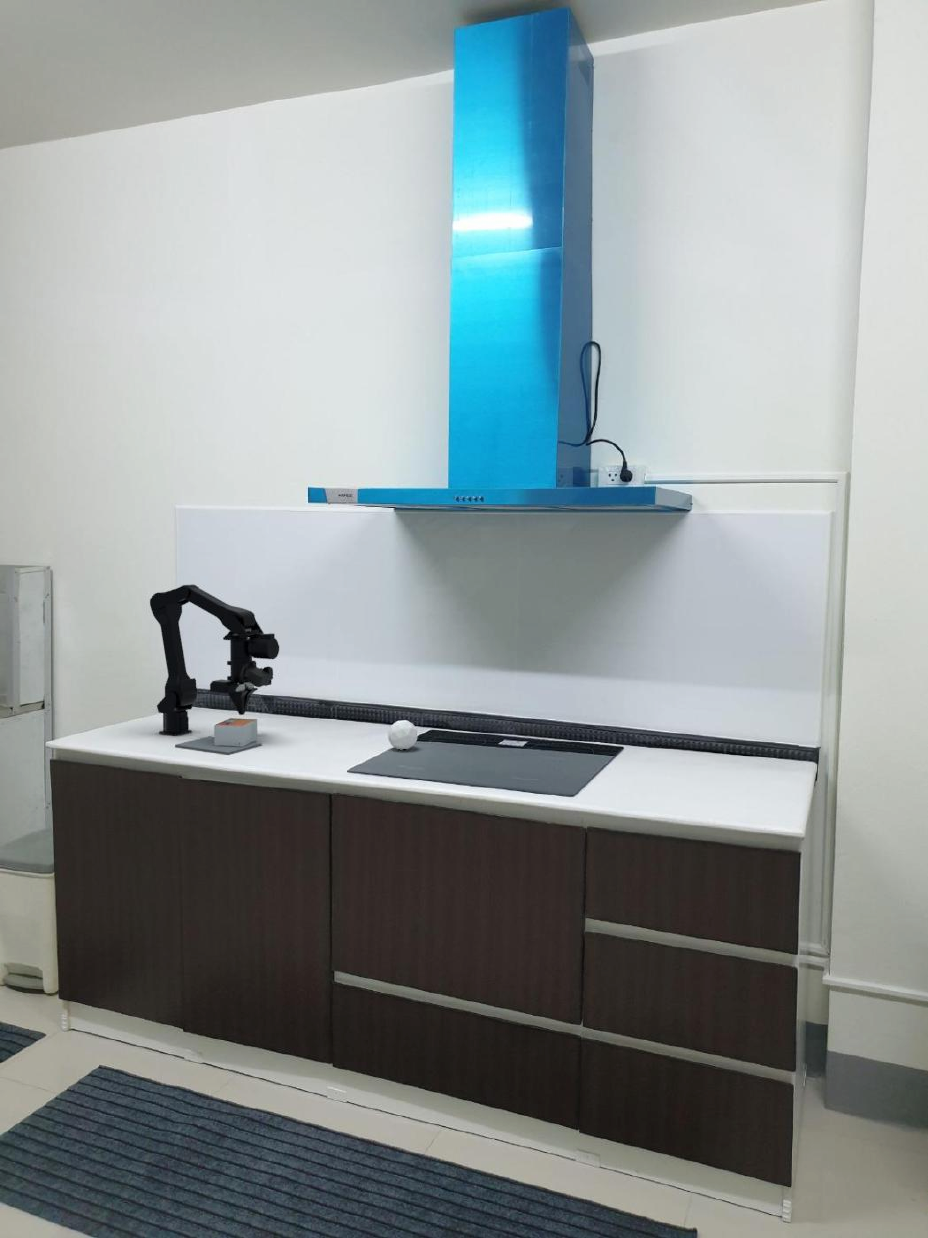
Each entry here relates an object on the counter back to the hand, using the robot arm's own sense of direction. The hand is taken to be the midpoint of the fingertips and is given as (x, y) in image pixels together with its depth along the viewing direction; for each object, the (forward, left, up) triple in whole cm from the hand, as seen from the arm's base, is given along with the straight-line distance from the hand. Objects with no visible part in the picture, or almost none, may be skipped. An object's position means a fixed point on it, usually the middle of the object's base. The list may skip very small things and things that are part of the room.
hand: (241, 714), depth 259 cm
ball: (+43, +13, -7) cm, 45 cm away
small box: (+1, 0, -4) cm, 4 cm away
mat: (0, -9, -7) cm, 11 cm away
